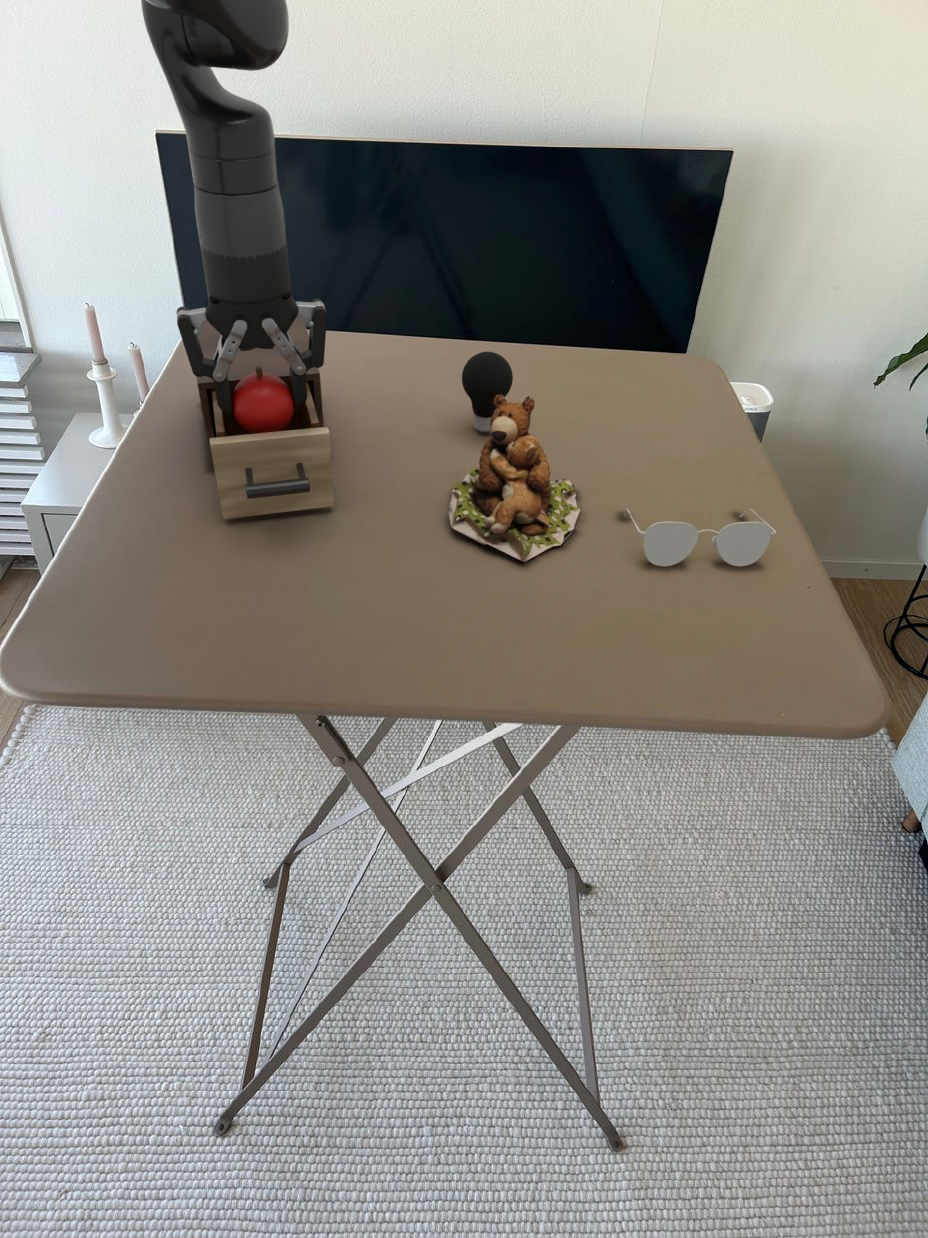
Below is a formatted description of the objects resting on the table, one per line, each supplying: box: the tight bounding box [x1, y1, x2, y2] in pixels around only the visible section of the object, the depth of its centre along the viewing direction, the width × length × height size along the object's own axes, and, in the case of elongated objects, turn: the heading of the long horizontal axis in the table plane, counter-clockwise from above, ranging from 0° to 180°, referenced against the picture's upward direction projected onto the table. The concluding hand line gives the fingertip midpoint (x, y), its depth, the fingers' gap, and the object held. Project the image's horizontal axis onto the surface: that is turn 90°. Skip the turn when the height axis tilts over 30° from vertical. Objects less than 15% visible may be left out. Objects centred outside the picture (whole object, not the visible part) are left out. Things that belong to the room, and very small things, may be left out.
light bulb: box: [461, 351, 514, 434], centre depth 103 cm, size 6×6×10 cm
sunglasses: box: [623, 508, 777, 568], centre depth 91 cm, size 14×8×5 cm, turn 93°
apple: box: [232, 366, 294, 434], centre depth 88 cm, size 6×6×7 cm
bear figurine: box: [447, 394, 581, 563], centre depth 90 cm, size 14×15×12 cm
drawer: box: [209, 381, 335, 520], centre depth 91 cm, size 18×11×9 cm, turn 15°
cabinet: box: [196, 315, 325, 471], centre depth 101 cm, size 15×13×11 cm
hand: (263, 406), depth 89 cm, fingers closed on apple, 6 cm apart
